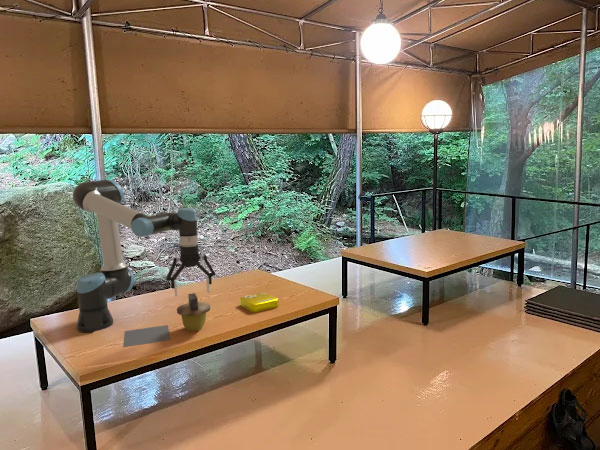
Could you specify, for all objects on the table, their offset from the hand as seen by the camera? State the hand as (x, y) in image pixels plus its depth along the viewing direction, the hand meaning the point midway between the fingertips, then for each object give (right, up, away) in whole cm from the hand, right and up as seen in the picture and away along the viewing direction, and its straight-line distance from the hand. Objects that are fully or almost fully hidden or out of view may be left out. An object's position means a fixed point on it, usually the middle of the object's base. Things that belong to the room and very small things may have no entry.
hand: (192, 293), depth 203 cm
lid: (0, -7, +1) cm, 7 cm away
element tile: (+26, -11, +31) cm, 42 cm away
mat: (-18, -18, -4) cm, 26 cm away
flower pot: (+1, -16, +3) cm, 16 cm away
